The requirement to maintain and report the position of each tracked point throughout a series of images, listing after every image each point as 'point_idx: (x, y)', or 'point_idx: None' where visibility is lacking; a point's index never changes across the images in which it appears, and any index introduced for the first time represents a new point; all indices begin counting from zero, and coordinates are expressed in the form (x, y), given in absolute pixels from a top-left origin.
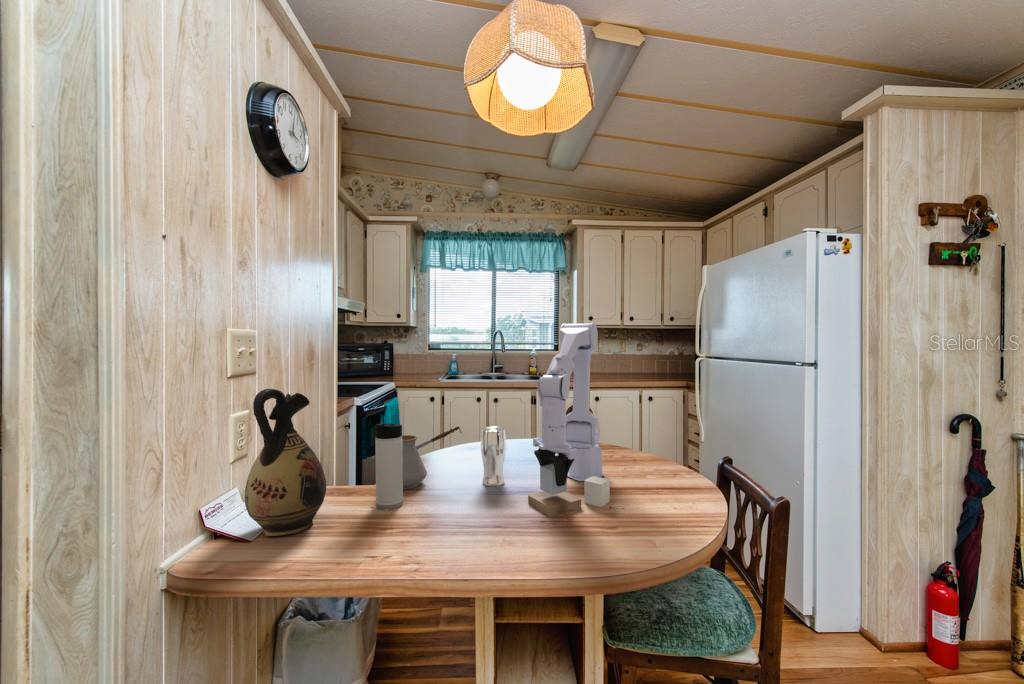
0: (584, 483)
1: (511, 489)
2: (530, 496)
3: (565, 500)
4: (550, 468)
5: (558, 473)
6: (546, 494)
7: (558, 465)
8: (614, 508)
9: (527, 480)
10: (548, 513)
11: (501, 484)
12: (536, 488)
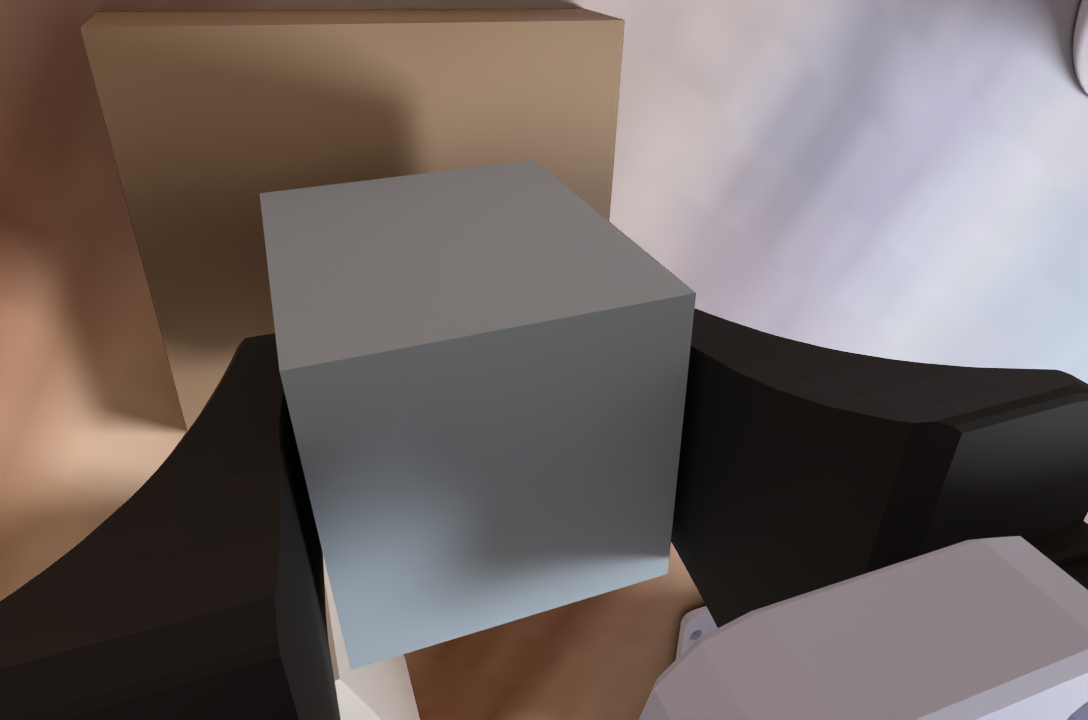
0: (333, 651)
1: (945, 61)
2: (573, 21)
3: (244, 336)
4: (476, 422)
5: (166, 460)
6: None
7: (7, 600)
8: None
9: (965, 298)
10: (129, 15)
11: (1078, 28)
12: (805, 285)
